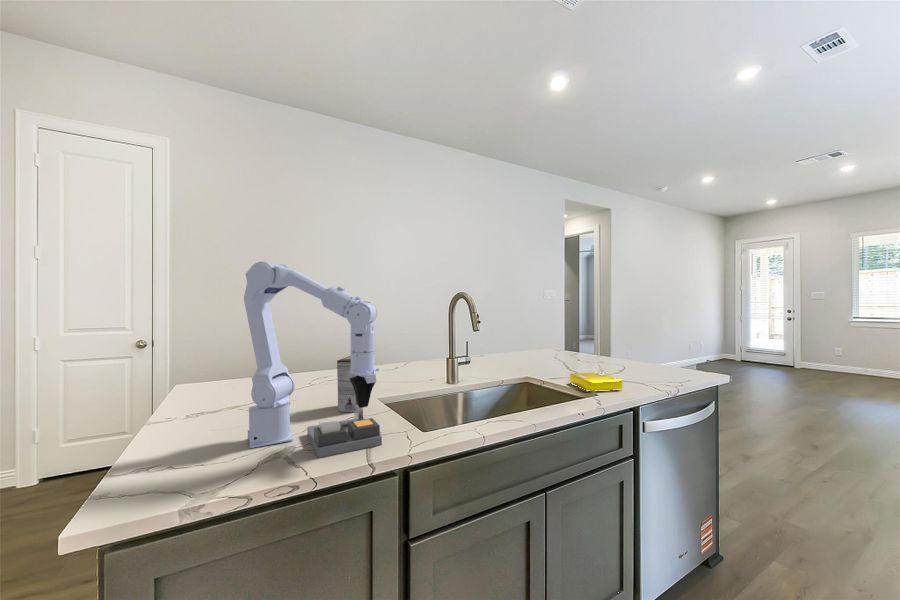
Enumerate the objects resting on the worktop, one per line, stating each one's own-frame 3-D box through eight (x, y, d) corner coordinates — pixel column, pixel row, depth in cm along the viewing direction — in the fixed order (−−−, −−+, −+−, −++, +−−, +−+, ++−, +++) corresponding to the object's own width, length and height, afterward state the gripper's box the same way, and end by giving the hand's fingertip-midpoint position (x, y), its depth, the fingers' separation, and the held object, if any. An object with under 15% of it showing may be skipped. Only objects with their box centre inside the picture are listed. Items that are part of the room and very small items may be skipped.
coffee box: (350, 403, 124) (350, 355, 124) (368, 404, 123) (368, 355, 123) (337, 411, 115) (336, 360, 115) (356, 412, 114) (355, 360, 114)
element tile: (568, 384, 151) (568, 372, 151) (601, 382, 153) (601, 370, 153) (588, 393, 136) (588, 380, 136) (625, 391, 139) (625, 378, 139)
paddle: (358, 424, 97) (358, 409, 97) (354, 419, 100) (354, 405, 100) (363, 423, 97) (362, 408, 97) (358, 419, 101) (358, 404, 101)
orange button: (357, 435, 88) (357, 426, 88) (353, 429, 92) (353, 421, 92) (373, 432, 90) (373, 423, 90) (369, 427, 94) (368, 419, 94)
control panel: (318, 458, 82) (318, 437, 82) (307, 434, 96) (307, 417, 96) (381, 444, 89) (381, 426, 89) (363, 424, 103) (362, 408, 103)
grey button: (322, 435, 85) (322, 427, 85) (319, 430, 88) (319, 422, 88) (340, 432, 86) (340, 424, 86) (336, 427, 90) (336, 419, 90)
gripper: (388, 354, 86) (388, 412, 87) (369, 346, 99) (370, 397, 99) (358, 356, 83) (358, 416, 83) (343, 348, 96) (343, 400, 96)
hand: (362, 406), depth 91 cm, fingers closed
